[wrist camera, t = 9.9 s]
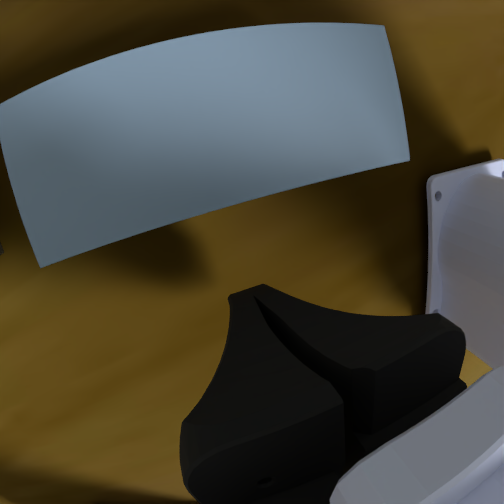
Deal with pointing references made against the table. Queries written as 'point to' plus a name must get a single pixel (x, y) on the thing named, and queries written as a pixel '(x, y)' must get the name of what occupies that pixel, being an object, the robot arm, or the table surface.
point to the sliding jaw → (198, 129)
